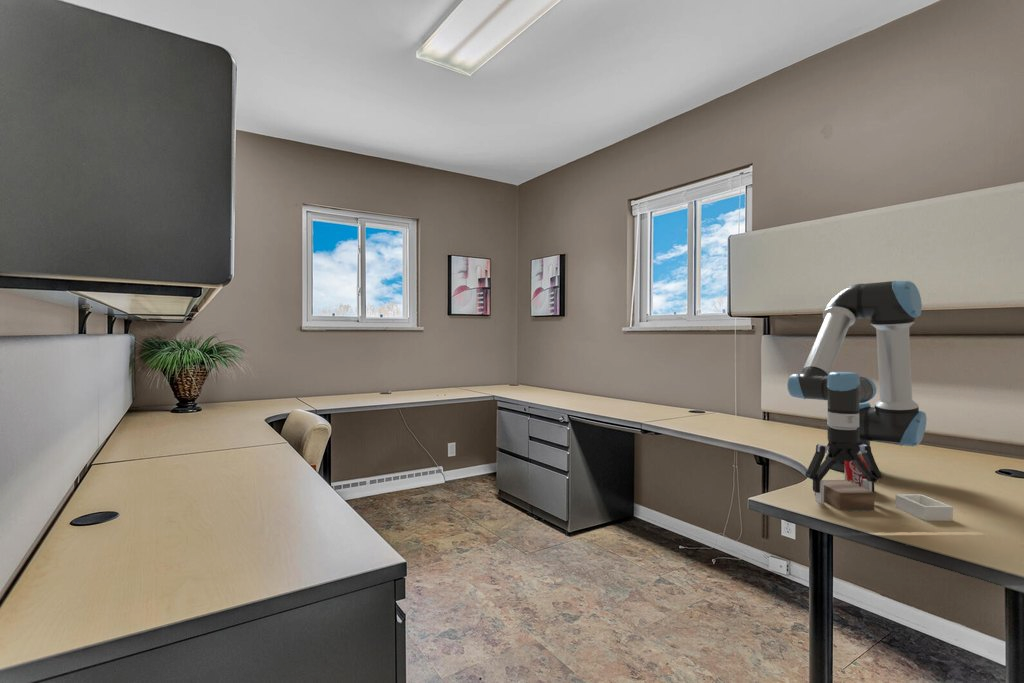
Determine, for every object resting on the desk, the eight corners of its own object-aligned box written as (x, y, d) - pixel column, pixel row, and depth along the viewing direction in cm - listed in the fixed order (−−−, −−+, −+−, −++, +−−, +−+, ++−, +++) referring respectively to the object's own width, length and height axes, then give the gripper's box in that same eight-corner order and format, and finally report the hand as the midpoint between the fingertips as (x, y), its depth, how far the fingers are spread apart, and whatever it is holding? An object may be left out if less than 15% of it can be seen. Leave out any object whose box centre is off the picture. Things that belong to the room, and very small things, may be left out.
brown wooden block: (814, 495, 148) (814, 480, 148) (845, 495, 148) (845, 479, 148) (840, 509, 136) (840, 493, 136) (874, 509, 136) (874, 492, 136)
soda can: (842, 491, 154) (842, 451, 153) (846, 486, 159) (846, 447, 159) (870, 496, 149) (870, 455, 149) (874, 490, 154) (874, 451, 154)
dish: (895, 509, 138) (895, 494, 138) (921, 509, 138) (921, 494, 138) (924, 522, 128) (924, 507, 128) (952, 522, 128) (952, 506, 128)
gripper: (806, 430, 138) (806, 508, 139) (897, 429, 138) (897, 508, 138) (791, 425, 146) (791, 499, 146) (878, 424, 145) (878, 499, 146)
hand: (843, 503), depth 142 cm, fingers open, 12 cm apart
